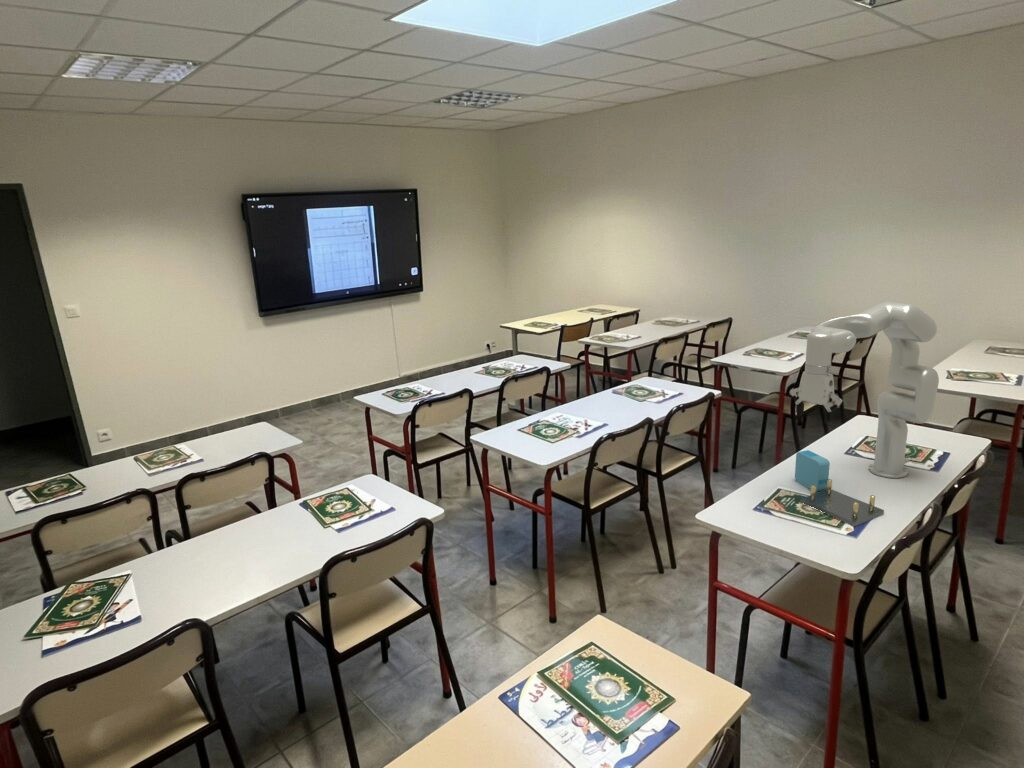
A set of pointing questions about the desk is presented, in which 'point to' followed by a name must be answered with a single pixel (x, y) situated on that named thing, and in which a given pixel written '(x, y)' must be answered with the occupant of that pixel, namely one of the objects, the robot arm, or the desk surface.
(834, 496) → the plate
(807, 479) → the data package
